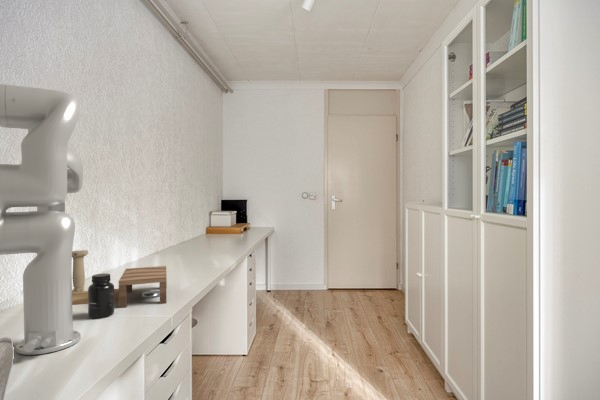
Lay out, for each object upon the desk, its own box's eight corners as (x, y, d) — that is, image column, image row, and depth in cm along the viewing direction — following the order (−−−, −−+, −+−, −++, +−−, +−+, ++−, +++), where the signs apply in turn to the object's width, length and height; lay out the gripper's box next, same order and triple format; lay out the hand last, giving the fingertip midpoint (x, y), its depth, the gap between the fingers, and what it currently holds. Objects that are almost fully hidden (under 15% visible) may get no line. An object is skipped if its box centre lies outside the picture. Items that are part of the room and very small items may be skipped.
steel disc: (160, 298, 127) (160, 293, 127) (141, 300, 125) (141, 295, 125) (160, 294, 133) (160, 289, 133) (142, 296, 131) (142, 291, 131)
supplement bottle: (85, 320, 105) (84, 278, 104) (91, 313, 111) (91, 273, 111) (111, 317, 106) (111, 276, 106) (116, 310, 113) (116, 271, 113)
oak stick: (124, 301, 124) (124, 289, 124) (42, 308, 118) (42, 295, 118) (126, 299, 126) (126, 288, 126) (45, 305, 121) (45, 293, 121)
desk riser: (166, 303, 120) (165, 277, 120) (119, 308, 116) (118, 281, 116) (166, 287, 141) (166, 265, 141) (126, 291, 136) (126, 268, 136)
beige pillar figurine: (85, 292, 136) (84, 252, 136) (66, 293, 135) (65, 252, 135) (90, 289, 141) (90, 250, 141) (72, 290, 140) (72, 250, 140)
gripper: (57, 209, 112) (58, 265, 113) (71, 207, 128) (72, 256, 129) (27, 210, 110) (29, 267, 110) (46, 207, 126) (47, 257, 126)
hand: (52, 261), depth 119 cm, fingers open, 9 cm apart
